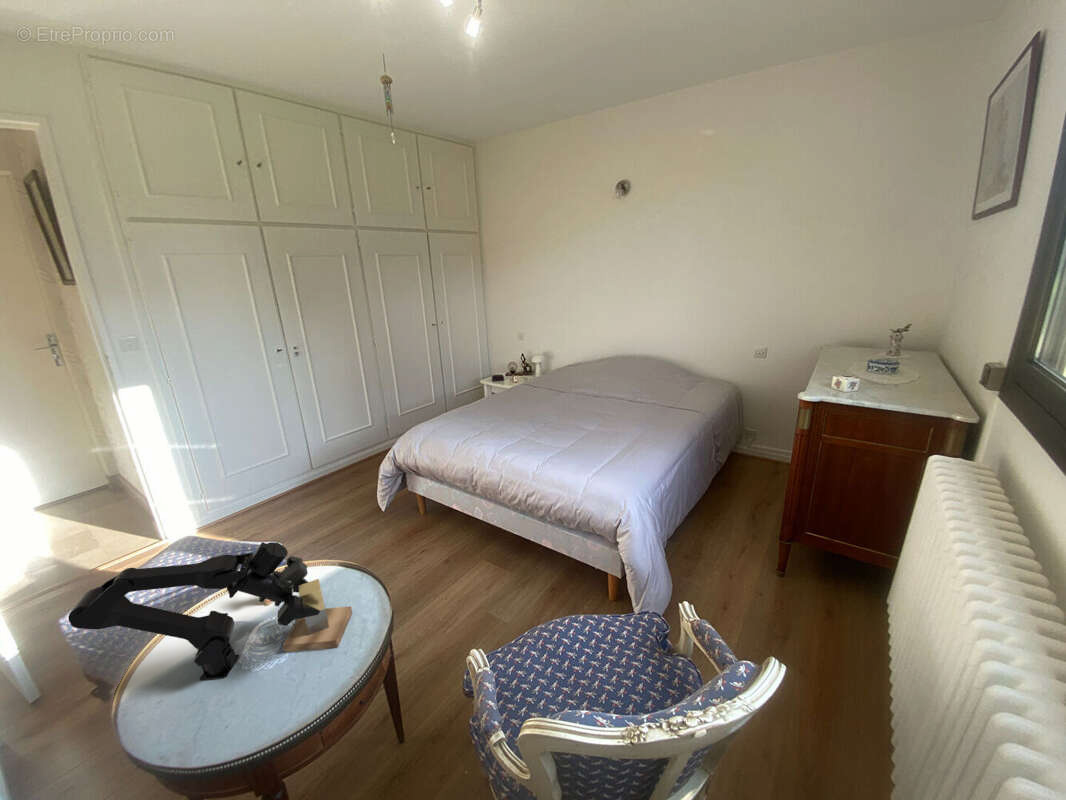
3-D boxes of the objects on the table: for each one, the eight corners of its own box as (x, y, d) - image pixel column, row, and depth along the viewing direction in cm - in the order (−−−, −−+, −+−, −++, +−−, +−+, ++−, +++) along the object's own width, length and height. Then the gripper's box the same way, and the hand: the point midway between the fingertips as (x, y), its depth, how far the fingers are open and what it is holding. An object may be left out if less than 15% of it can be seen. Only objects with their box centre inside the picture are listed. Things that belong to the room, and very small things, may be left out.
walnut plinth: (285, 652, 115) (283, 645, 114) (304, 617, 127) (302, 610, 126) (338, 647, 116) (336, 640, 115) (352, 612, 127) (350, 606, 127)
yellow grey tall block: (309, 635, 117) (299, 597, 113) (308, 622, 121) (298, 585, 117) (329, 627, 120) (319, 589, 116) (327, 615, 124) (318, 578, 120)
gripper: (282, 580, 103) (339, 598, 112) (282, 539, 119) (333, 558, 127) (252, 619, 102) (312, 635, 111) (256, 573, 118) (309, 590, 126)
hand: (318, 601), depth 119 cm, fingers open, 9 cm apart
